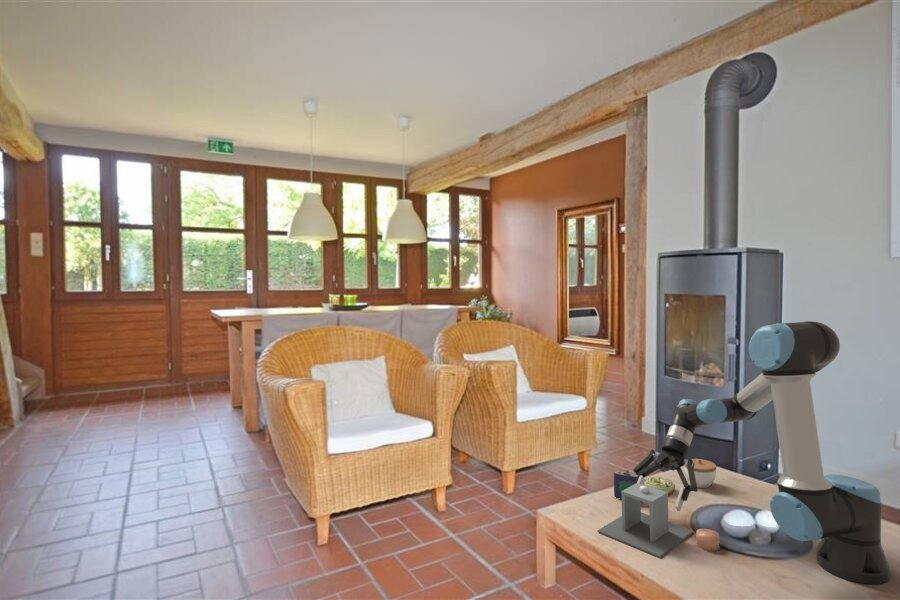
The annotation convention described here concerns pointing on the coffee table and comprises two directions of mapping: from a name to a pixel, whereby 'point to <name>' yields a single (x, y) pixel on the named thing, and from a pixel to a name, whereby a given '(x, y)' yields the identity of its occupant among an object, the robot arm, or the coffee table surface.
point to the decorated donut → (660, 484)
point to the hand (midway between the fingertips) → (655, 502)
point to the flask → (623, 481)
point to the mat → (646, 536)
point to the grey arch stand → (656, 508)
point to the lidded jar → (702, 472)
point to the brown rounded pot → (708, 539)
